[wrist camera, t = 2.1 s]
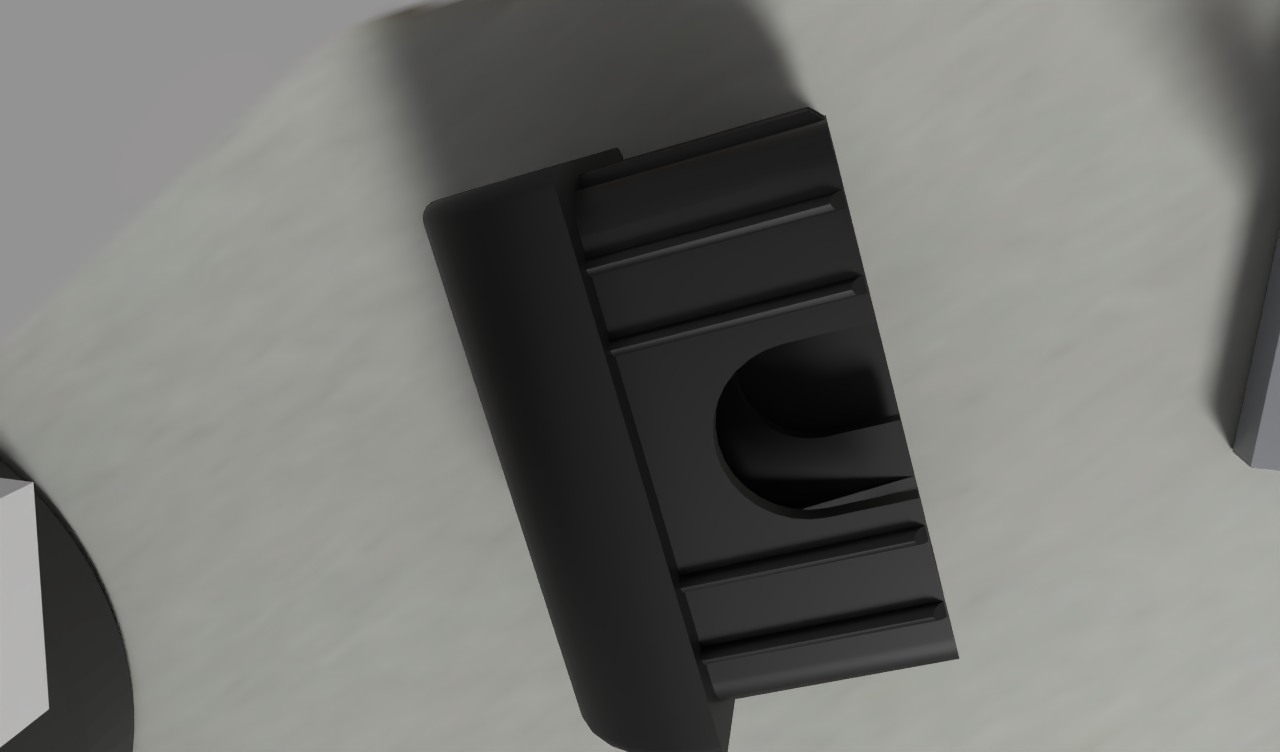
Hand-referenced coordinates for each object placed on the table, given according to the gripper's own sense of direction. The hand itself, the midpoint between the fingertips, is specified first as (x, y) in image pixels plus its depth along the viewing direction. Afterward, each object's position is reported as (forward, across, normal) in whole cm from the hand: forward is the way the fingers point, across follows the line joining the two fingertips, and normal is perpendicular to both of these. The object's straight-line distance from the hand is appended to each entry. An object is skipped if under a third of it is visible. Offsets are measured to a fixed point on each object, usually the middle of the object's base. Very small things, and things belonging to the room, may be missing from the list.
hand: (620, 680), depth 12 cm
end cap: (+13, 0, 0) cm, 13 cm away
